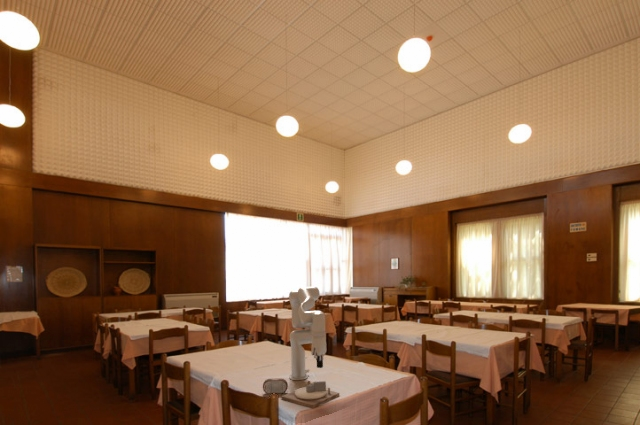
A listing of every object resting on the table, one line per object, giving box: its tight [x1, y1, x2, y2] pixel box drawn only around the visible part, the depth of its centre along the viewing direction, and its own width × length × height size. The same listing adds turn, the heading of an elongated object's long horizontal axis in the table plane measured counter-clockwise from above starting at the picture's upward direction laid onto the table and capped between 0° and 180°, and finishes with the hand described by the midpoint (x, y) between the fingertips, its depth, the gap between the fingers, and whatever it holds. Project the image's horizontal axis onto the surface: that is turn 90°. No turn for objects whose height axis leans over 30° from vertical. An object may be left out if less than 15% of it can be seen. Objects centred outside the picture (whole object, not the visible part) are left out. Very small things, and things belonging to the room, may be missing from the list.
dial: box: [294, 380, 327, 400], centre depth 222 cm, size 18×18×6 cm
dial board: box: [280, 380, 340, 409], centre depth 221 cm, size 24×24×6 cm
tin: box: [262, 378, 289, 395], centre depth 230 cm, size 15×3×8 cm, turn 92°
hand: (319, 367), depth 218 cm, fingers closed
